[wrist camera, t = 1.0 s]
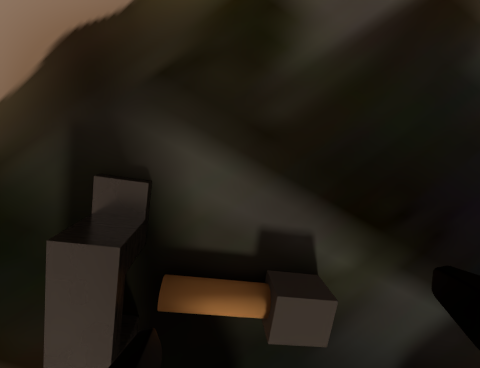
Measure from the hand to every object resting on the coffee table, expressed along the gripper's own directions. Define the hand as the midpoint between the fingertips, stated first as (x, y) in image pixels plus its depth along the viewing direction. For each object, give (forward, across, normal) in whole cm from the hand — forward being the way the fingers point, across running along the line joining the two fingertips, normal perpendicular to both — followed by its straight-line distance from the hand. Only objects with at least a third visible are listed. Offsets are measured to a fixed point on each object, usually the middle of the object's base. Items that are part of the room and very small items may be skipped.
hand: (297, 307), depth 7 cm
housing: (+12, +13, +6) cm, 19 cm away
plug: (+12, +2, +10) cm, 16 cm away
